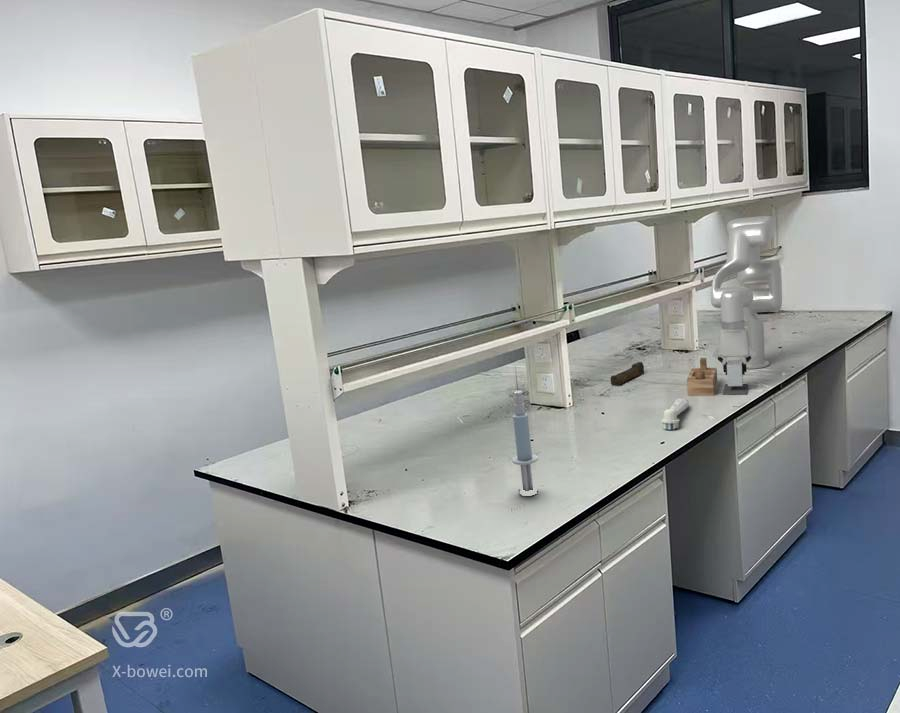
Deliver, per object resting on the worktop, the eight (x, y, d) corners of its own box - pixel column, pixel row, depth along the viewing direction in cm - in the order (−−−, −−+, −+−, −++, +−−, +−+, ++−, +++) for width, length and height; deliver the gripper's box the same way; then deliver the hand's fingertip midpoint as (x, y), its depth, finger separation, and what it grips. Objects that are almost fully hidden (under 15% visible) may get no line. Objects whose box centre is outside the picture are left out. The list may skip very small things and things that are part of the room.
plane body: (692, 383, 275) (691, 358, 273) (717, 382, 271) (716, 357, 270) (687, 395, 259) (686, 369, 257) (713, 395, 256) (712, 368, 254)
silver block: (728, 381, 263) (727, 360, 262) (743, 380, 261) (742, 359, 260) (727, 386, 257) (726, 364, 256) (742, 386, 255) (741, 364, 254)
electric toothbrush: (690, 397, 244) (676, 408, 222) (691, 416, 245) (677, 429, 223) (674, 397, 247) (659, 408, 225) (675, 416, 247) (660, 429, 225)
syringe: (521, 499, 186) (508, 364, 179) (517, 490, 192) (505, 359, 186) (542, 496, 186) (531, 361, 179) (538, 487, 192) (526, 356, 186)
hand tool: (620, 387, 283) (619, 373, 282) (610, 386, 287) (609, 372, 286) (650, 374, 298) (650, 361, 297) (640, 373, 302) (639, 360, 301)
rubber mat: (725, 384, 268) (725, 383, 267) (748, 384, 264) (748, 383, 264) (722, 394, 255) (722, 393, 255) (746, 394, 252) (746, 393, 252)
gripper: (758, 322, 255) (760, 371, 258) (708, 324, 262) (711, 372, 266) (758, 326, 248) (760, 376, 252) (706, 328, 255) (709, 377, 259)
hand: (735, 373), depth 259 cm, fingers closed on silver block, 5 cm apart
